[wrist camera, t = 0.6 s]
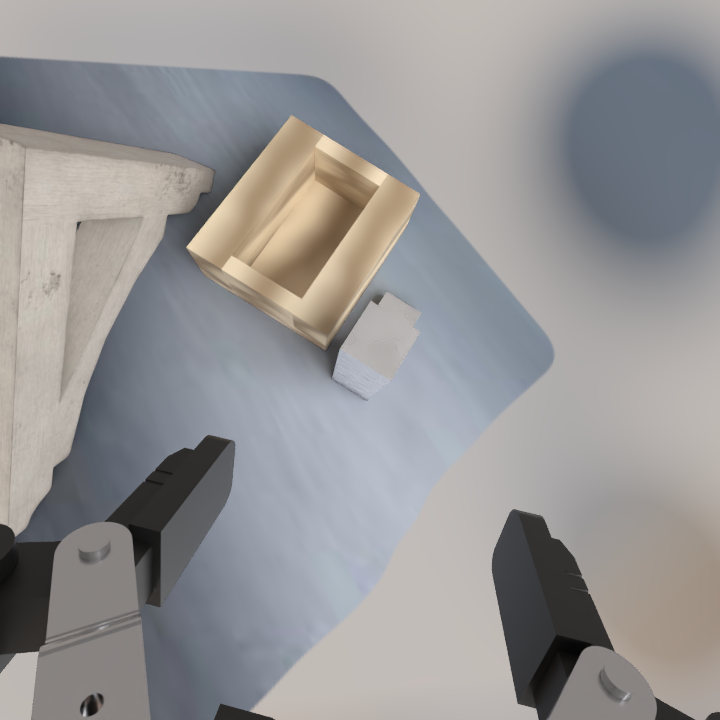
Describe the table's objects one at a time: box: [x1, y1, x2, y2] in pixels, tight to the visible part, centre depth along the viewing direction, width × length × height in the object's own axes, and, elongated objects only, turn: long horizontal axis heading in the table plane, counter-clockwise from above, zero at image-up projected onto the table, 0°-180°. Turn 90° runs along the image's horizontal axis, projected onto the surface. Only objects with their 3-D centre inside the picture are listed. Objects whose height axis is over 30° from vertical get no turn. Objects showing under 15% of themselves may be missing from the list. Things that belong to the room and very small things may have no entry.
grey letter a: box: [0, 123, 215, 537], centre depth 37 cm, size 22×4×30 cm
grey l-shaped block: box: [332, 292, 421, 400], centre depth 35 cm, size 4×10×13 cm, turn 149°
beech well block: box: [186, 115, 420, 351], centre depth 40 cm, size 14×16×6 cm
